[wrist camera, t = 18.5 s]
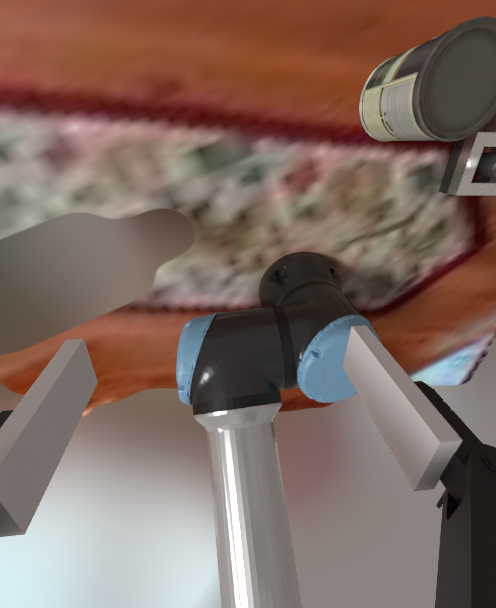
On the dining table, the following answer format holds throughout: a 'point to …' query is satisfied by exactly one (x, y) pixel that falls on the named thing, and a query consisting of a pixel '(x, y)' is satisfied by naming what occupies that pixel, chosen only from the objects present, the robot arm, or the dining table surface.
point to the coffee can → (435, 87)
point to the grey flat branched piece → (470, 164)
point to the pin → (486, 165)
